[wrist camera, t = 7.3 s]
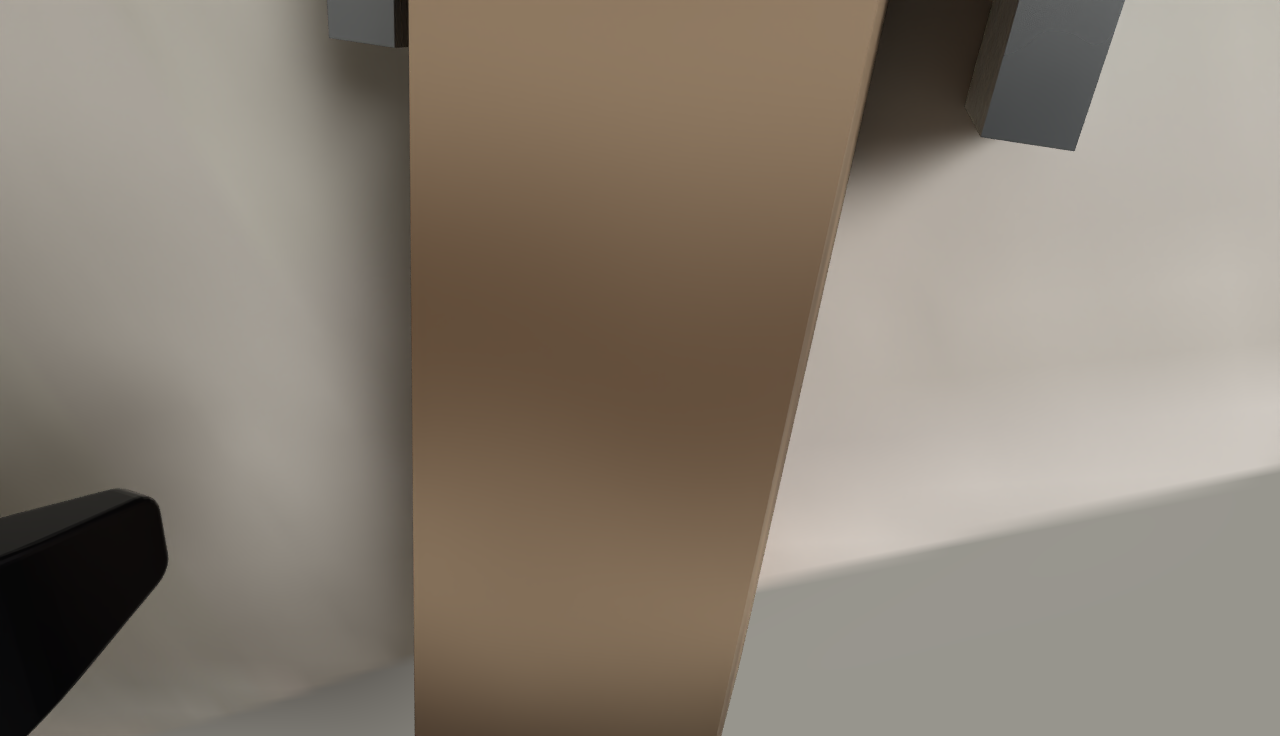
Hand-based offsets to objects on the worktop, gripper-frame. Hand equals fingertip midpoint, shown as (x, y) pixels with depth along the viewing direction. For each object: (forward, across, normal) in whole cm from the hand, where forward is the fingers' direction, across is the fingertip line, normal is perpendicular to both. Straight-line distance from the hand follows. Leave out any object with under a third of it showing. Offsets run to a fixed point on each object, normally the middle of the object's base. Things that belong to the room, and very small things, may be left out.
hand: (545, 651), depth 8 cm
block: (+6, 0, -2) cm, 6 cm away
